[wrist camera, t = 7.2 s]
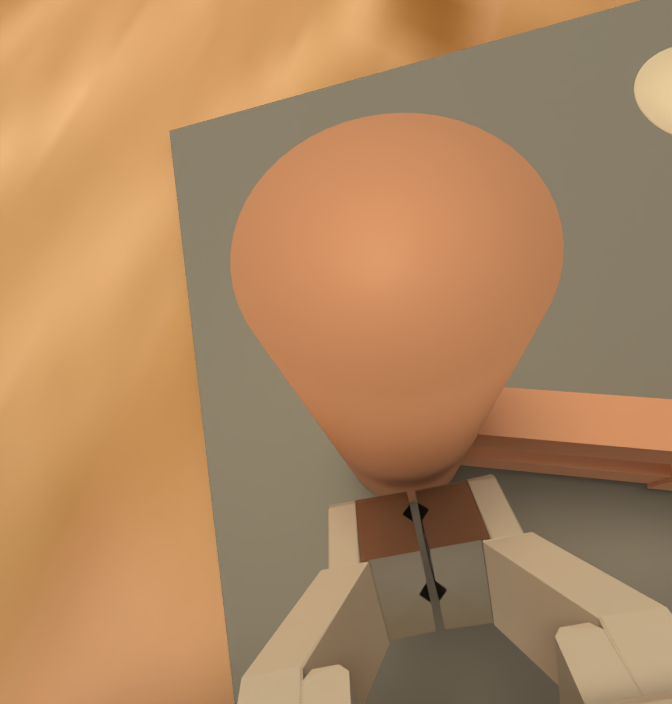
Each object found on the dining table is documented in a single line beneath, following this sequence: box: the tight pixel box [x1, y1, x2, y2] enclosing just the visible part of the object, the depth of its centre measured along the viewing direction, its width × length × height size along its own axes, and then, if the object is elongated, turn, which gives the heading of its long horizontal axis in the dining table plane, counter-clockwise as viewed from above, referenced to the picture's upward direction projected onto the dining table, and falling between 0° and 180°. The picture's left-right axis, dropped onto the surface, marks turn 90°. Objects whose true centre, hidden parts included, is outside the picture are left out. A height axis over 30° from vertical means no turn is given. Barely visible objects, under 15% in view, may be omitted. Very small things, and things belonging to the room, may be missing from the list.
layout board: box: [170, 0, 672, 704], centre depth 16 cm, size 22×30×1 cm
